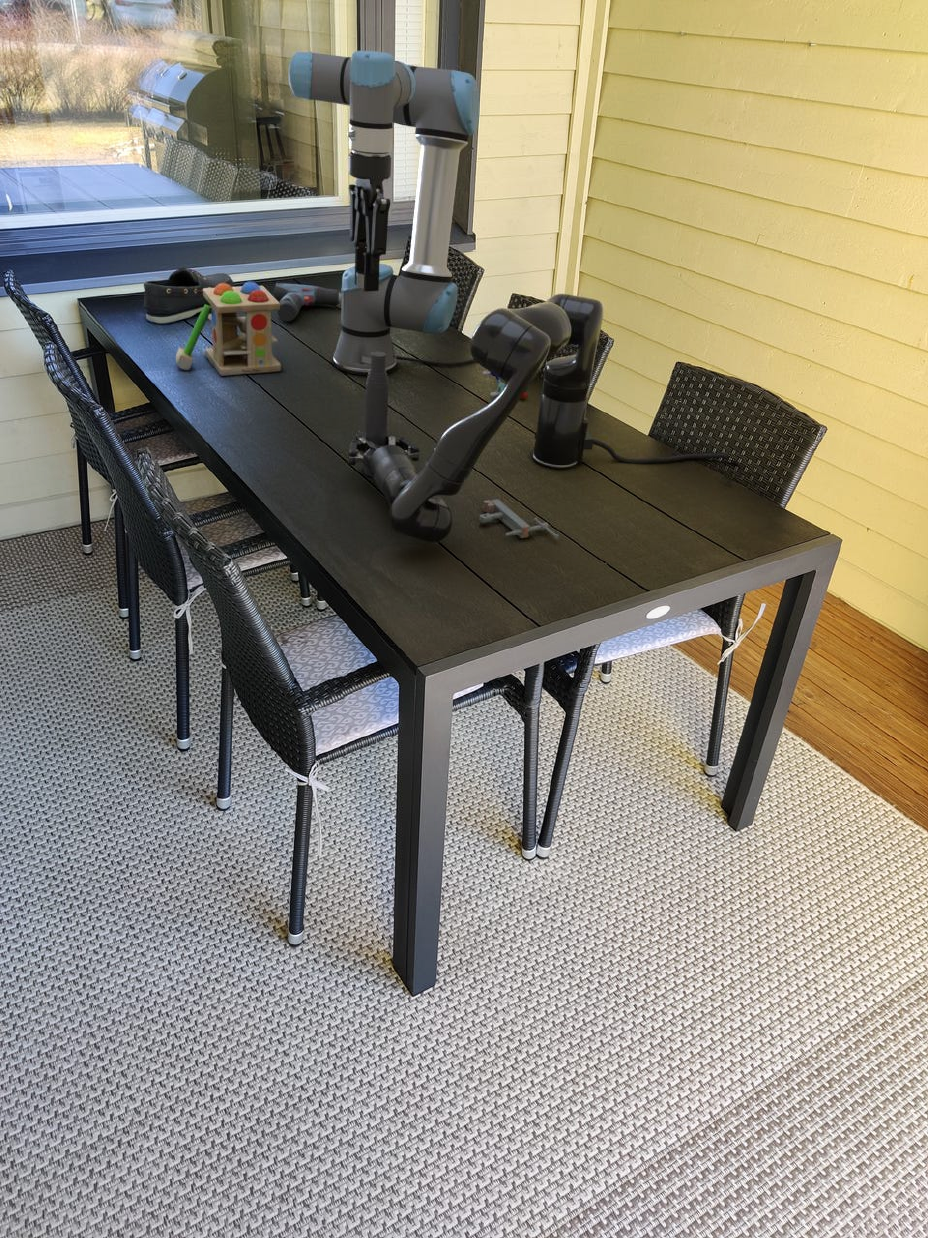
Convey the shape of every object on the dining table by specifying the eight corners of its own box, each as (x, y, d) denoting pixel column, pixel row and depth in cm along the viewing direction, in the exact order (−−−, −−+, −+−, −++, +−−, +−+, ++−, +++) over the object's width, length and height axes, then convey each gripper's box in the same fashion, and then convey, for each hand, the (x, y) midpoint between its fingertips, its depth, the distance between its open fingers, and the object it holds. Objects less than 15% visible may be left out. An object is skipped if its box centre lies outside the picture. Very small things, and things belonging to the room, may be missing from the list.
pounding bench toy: (183, 379, 220) (176, 299, 210) (169, 357, 231) (162, 280, 221) (282, 371, 230) (280, 294, 220) (264, 350, 240) (262, 276, 230)
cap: (371, 282, 188) (371, 268, 187) (379, 288, 185) (380, 274, 184) (352, 283, 186) (353, 270, 185) (361, 289, 184) (361, 275, 182)
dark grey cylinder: (387, 470, 192) (393, 352, 178) (380, 478, 188) (385, 359, 175) (368, 466, 192) (372, 348, 179) (360, 474, 189) (363, 355, 176)
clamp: (469, 503, 178) (515, 494, 182) (468, 513, 179) (514, 504, 184) (513, 542, 167) (561, 531, 172) (512, 553, 169) (559, 542, 173)
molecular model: (528, 399, 218) (514, 355, 217) (489, 413, 222) (475, 370, 221) (541, 397, 229) (527, 355, 228) (504, 410, 233) (491, 369, 231)
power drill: (335, 306, 256) (344, 285, 273) (264, 300, 255) (277, 279, 272) (335, 327, 259) (344, 304, 276) (264, 320, 258) (277, 299, 275)
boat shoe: (253, 302, 272) (251, 263, 267) (163, 325, 248) (159, 283, 243) (219, 293, 278) (216, 255, 272) (128, 316, 254) (123, 274, 248)
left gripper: (332, 143, 177) (331, 275, 190) (369, 161, 165) (365, 301, 178) (370, 143, 180) (366, 273, 193) (409, 161, 169) (403, 298, 182)
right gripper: (434, 452, 176) (408, 414, 189) (356, 457, 171) (335, 418, 185) (431, 489, 180) (406, 450, 193) (355, 495, 176) (335, 454, 189)
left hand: (366, 286), depth 186 cm, fingers closed on cap, 4 cm apart
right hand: (371, 434), depth 189 cm, fingers closed on dark grey cylinder, 4 cm apart
